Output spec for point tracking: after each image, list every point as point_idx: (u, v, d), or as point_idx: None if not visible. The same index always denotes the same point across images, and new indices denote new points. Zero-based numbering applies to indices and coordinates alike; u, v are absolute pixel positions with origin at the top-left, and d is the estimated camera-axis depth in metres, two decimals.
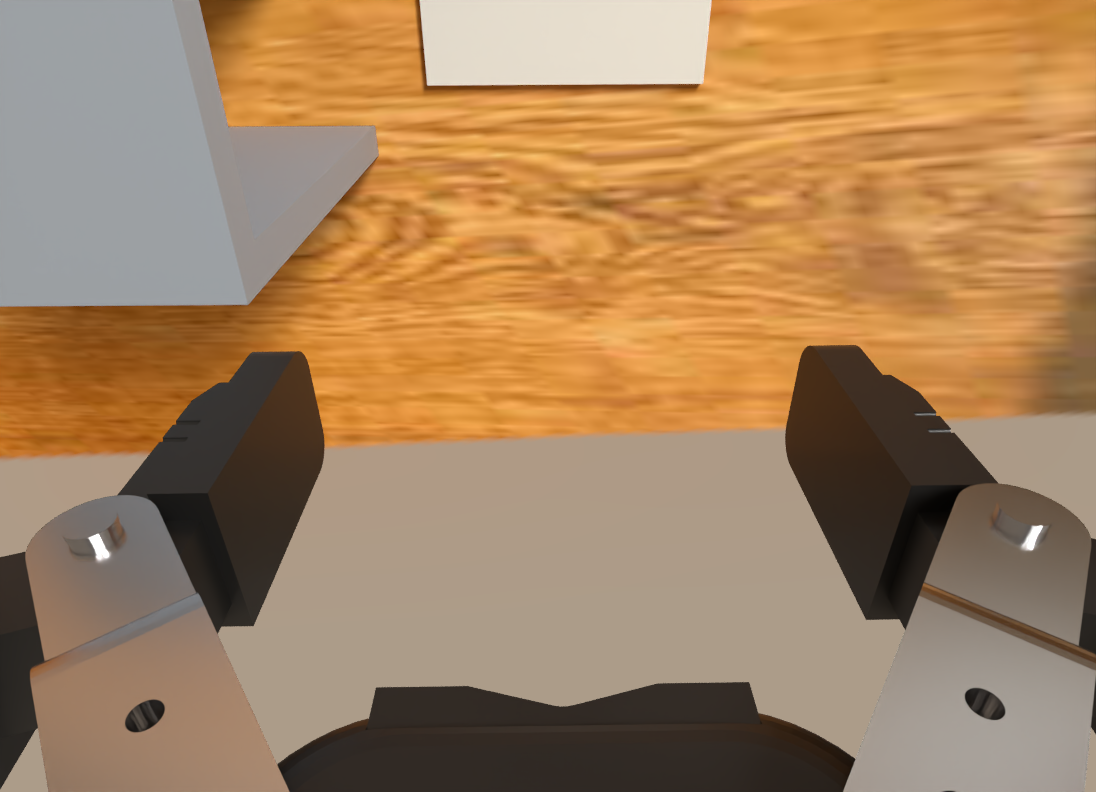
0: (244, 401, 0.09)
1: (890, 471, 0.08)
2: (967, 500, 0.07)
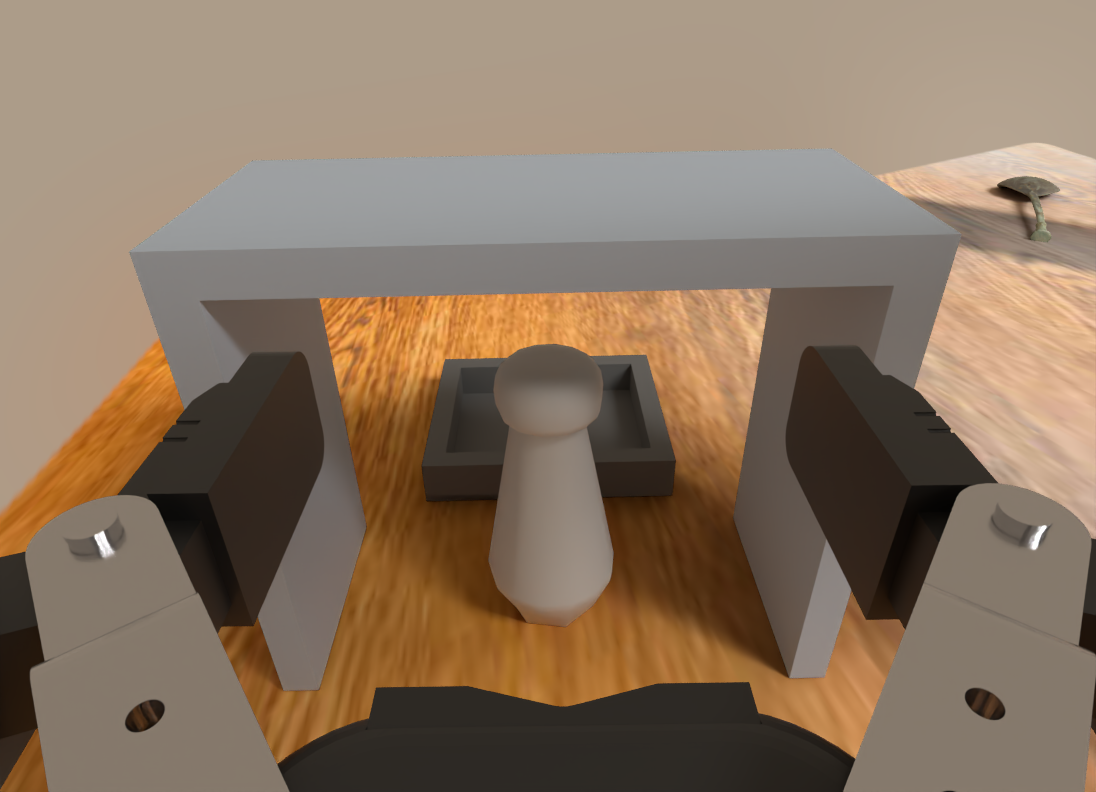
0: (244, 401, 0.09)
1: (889, 471, 0.08)
2: (967, 500, 0.07)
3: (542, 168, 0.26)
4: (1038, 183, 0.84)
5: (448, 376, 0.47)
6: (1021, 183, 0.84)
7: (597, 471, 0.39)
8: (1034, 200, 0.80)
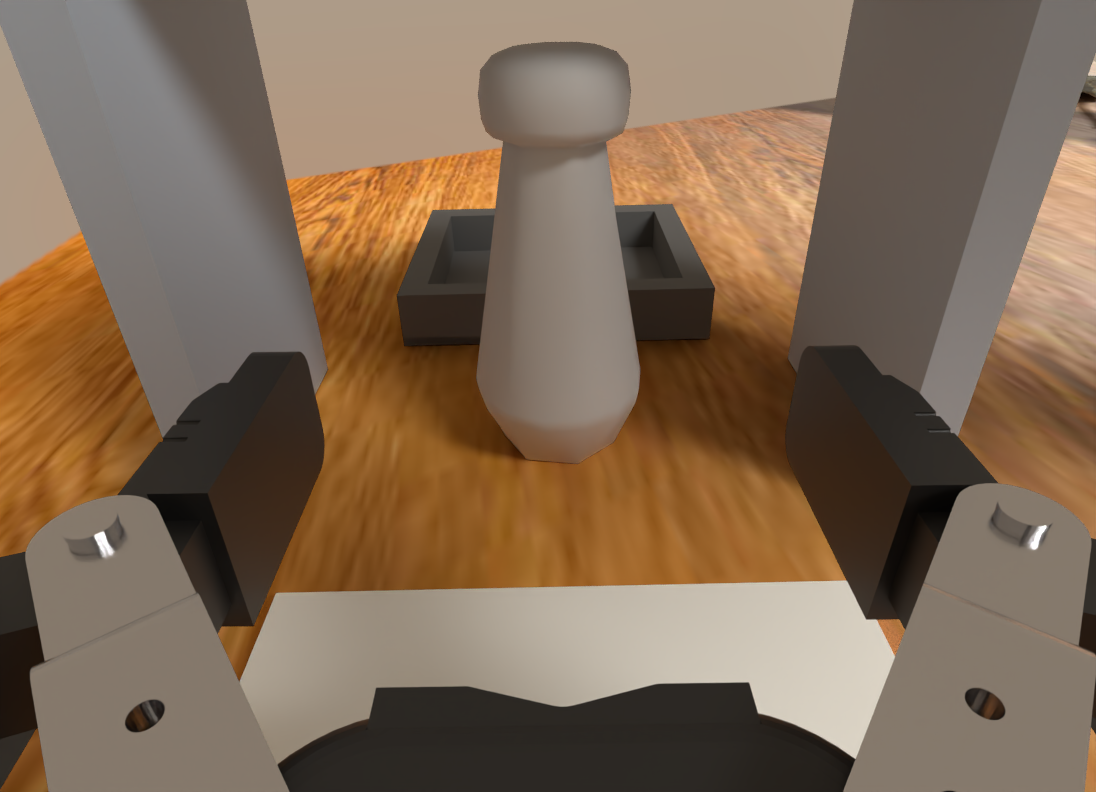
0: (244, 401, 0.09)
1: (889, 471, 0.08)
2: (967, 500, 0.07)
3: None
4: None
5: (435, 223, 0.39)
6: None
7: None
8: None
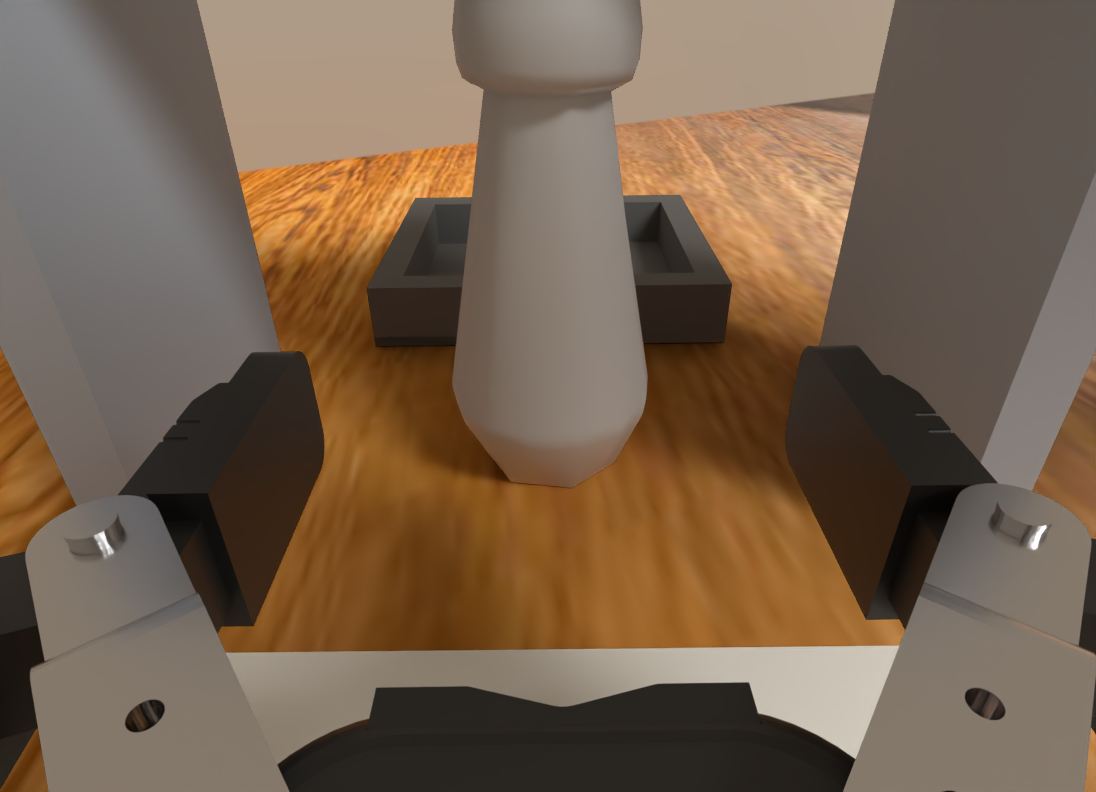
0: (244, 401, 0.09)
1: (889, 471, 0.08)
2: (967, 500, 0.07)
3: None
4: None
5: (417, 211, 0.35)
6: None
7: None
8: None
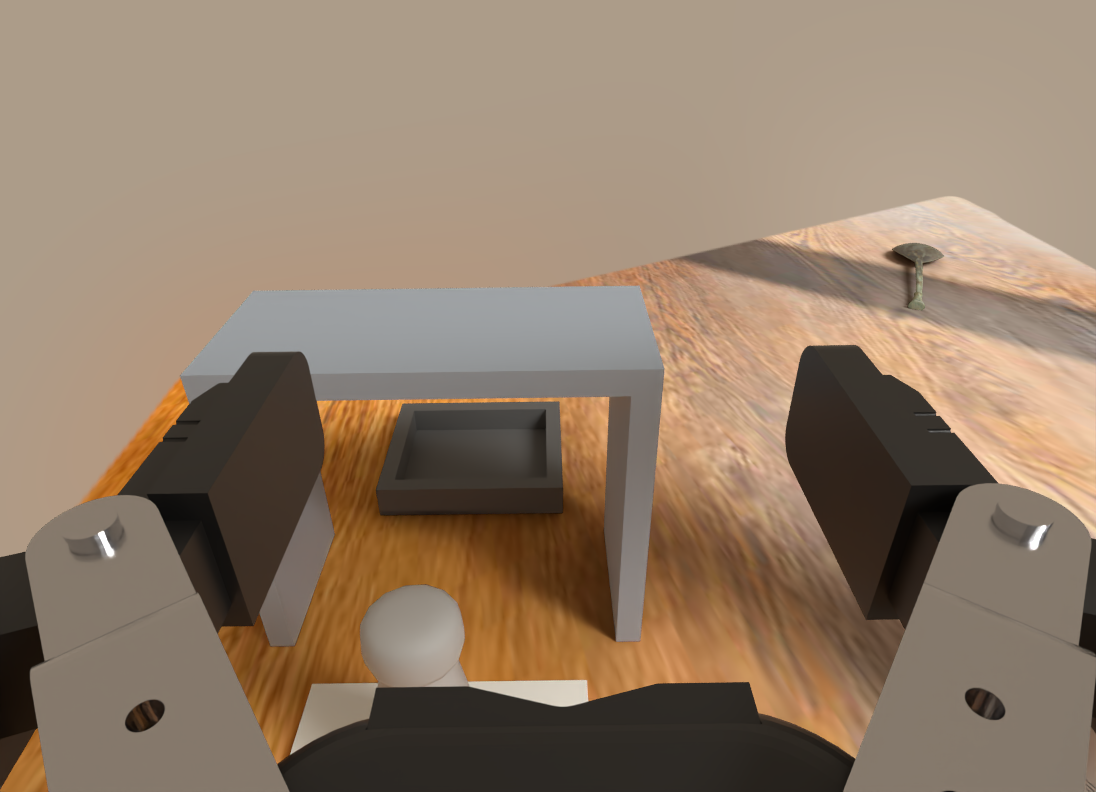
0: (244, 401, 0.09)
1: (889, 471, 0.08)
2: (967, 500, 0.07)
3: (441, 302, 0.40)
4: (923, 251, 0.95)
5: (403, 418, 0.61)
6: (910, 250, 0.96)
7: (505, 494, 0.53)
8: (917, 268, 0.91)
